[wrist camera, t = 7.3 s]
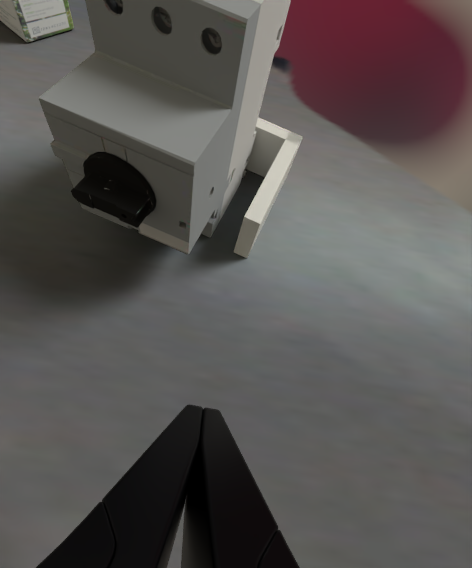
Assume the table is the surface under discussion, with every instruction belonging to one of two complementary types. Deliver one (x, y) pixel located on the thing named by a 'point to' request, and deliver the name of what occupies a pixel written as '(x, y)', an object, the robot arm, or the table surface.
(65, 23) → the syrup box
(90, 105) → the circuit breaker
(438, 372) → the table surface
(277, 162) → the mounting bay
